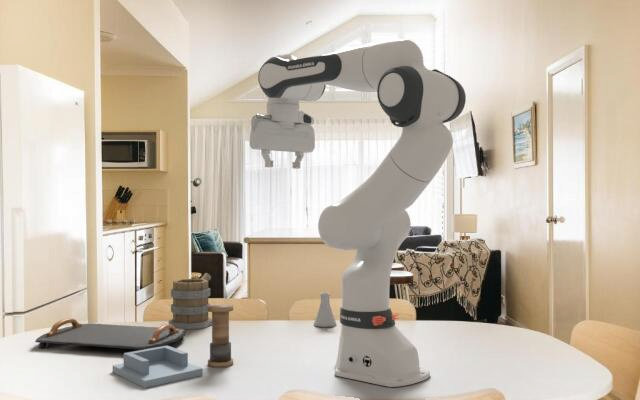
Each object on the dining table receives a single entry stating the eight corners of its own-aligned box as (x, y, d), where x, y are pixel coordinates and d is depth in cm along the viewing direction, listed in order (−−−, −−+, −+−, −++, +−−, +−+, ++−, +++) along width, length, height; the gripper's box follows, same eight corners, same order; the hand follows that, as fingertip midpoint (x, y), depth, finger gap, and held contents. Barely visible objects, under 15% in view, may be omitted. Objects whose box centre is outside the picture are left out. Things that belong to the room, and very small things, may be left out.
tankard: (198, 330, 184) (198, 280, 184) (161, 328, 188) (161, 279, 188) (228, 318, 203) (228, 273, 203) (194, 316, 207) (194, 271, 207)
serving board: (196, 339, 175) (196, 317, 175) (155, 360, 153) (155, 335, 153) (78, 332, 185) (78, 311, 185) (23, 350, 162) (23, 327, 162)
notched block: (202, 375, 138) (202, 355, 138) (144, 388, 129) (144, 366, 129) (167, 361, 150) (167, 342, 150) (112, 371, 141) (112, 352, 141)
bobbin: (238, 364, 147) (238, 306, 147) (216, 369, 143) (216, 309, 143) (224, 359, 152) (224, 302, 152) (203, 363, 148) (203, 305, 147)
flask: (337, 323, 195) (337, 291, 195) (335, 328, 188) (335, 295, 188) (314, 322, 196) (314, 291, 196) (312, 327, 189) (312, 295, 189)
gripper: (259, 112, 157) (259, 166, 157) (318, 118, 170) (318, 168, 171) (244, 114, 161) (244, 167, 161) (303, 121, 175) (303, 169, 175)
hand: (283, 168), depth 166 cm, fingers open, 8 cm apart
